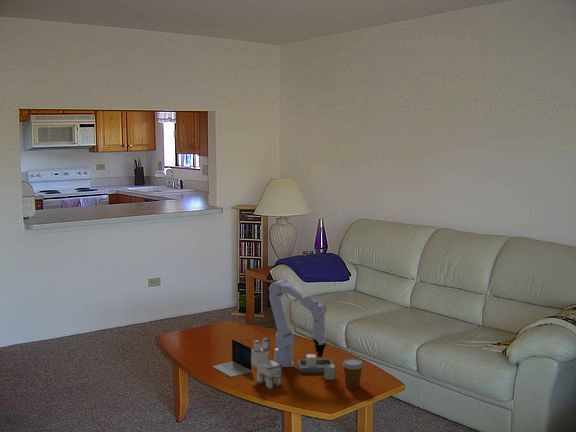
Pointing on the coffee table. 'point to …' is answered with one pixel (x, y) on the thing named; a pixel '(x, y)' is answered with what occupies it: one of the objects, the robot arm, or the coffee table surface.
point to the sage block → (329, 371)
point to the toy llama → (265, 364)
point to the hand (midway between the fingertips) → (319, 354)
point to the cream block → (310, 360)
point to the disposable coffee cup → (352, 372)
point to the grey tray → (310, 370)
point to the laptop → (237, 360)
